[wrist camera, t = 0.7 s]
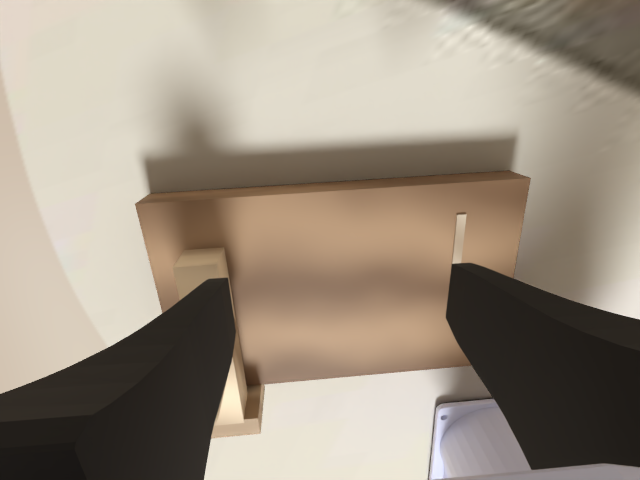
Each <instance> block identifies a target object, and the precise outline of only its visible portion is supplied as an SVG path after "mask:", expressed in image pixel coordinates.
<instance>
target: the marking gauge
mask: <svg viewBox="0 0 640 480" xmlns="http://www.w3.org/2000/svg"><path fill="white" fill-rule="evenodd" d="M173 272H174V276H175V281H176V285H177V290H178V294H179V298H180V300H181V299H182V298H184V297H185V296H186V295H188V294H189V293H190V292H191V291H193V290H194V289H195V288H196V287H198V286H199V285H200V284H202V283H203V282H204V281H206V280H207V279H212V278H228V280H229V274H228V268H227V262H226V256H225V250H224V247H222V248H208V249H194V250H184V252H183V253H182V255H181V256H180V258H179V259H178V260H177V262H176V263H175V265H174V266H173ZM229 287H230V281H229ZM230 294H231V301H232V308H233V315H234V322H235V329H236V335H235V343H234V351H233V357H232V362H231V366H230V370H229V373H228V377H227V380H226V384H225V388H224V391H223V395H222V398H221V402H220V405H219V409H218V412H217V416H216V419H215V423H214V427H213V431H212V436H211V438H220V437H230V436H240V435H250V434H260V432H261V422H262V411H263V400H264V390H265V387H264V384H262V385H251V386H247V385H246V379H245V373H244V367H243V361H242V354H241V348H240V342H239V336H238V326H237V323H236V318H235V311H234V305H233V299H232V293H231V287H230Z"/></svg>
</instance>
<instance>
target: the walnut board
mask: <svg viewBox="0 0 640 480" xmlns="http://www.w3.org/2000/svg"><path fill="white" fill-rule="evenodd" d="M530 179H531V178H529V177H526V176H523V175H520V174H517V173H514V172H512V171H495V172H480V173H464V174H449V175H433V176H417V177H402V178H386V179H370V180H355V181H339V182H324V183H308V184H292V185H277V186H261V187H246V188H230V189H214V190H199V191H183V192H168V193H152V194H149V195H147V196H146V197H144V198H143V199H142V200H140V201H139V202H137V203H136V204H135V206H136V210H137V214H138V218H139V222H140V226H141V229H142V233H143V237H144V241H145V245H146V249H147V253H148V257H149V261H150V265H151V269H152V273H153V277H154V281H155V285H156V289H157V293H158V297H159V301H160V305H161V309H162V313H164V312H165V311H167V310H168V309H169V308H171V307H172V306H173V305H175V304H176V303H177V302H179V301H180V298H179V294H178V290H177V285H176V281H175V276H174V272H173V266H174V265H175V263H176V262H177V260H178V259H179V258H180V256H181V255H182V253H183V252H184V250H194V249H208V248H222V247H224V250H225V256H226V262H227V268H228V274H229V281H230V287H231V293H232V299H233V305H234V311H235V318H236V323H237V326H238V336H239V342H240V348H241V354H242V361H243V367H244V373H245V379H246V385H247V386H251V385H262V384H273V383H284V382H295V381H306V380H317V379H328V378H339V377H350V376H361V375H372V374H383V373H394V372H405V371H416V370H427V369H438V368H449V367H460V366H471V364H470V362H469V360H468V359H467V357H466V356H465V354H464V353H463V351H462V350H461V348H460V346H459V345H458V343H457V341H456V339H455V337H454V335H453V333H452V331H451V329H450V326H449V324H448V322H447V320H446V309H447V300H448V291H449V283H450V274H451V266H452V264H456V263H474V264H477V265H480V266H483V267H486V268H488V269H491V270H494V271H496V272H499V273H501V274H503V275H506V276H508V277H511V278H513V276H514V270H515V265H516V259H517V253H518V248H519V242H520V236H521V230H522V225H523V219H524V213H525V208H526V202H527V196H528V190H529V185H530Z"/></svg>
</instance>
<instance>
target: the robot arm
mask: <svg viewBox="0 0 640 480" xmlns="http://www.w3.org/2000/svg"><path fill="white" fill-rule="evenodd" d="M446 320H447V322H448V324H449V326H450V329H451V331H452V333H453V335H454V337H455V339H456V341H457V343H458V345H459V346H460V348H461V350H462V351H463V353H464V354H465V356H466V357H467V359H468V360H469V362H470V364H471V365H472V367H473V368H474V370H475V371H476V373H477V374H478V376H479V377H480V379H481V380H482V382H483V383H484V385H485V386H486V388H487V389H488V391H489V392H490V394H491V395H492V397H493V398H494V399H486V400H475V401H465V402H454V403H444V404H440V405H438V406H437V408H436V415H435V425H434V435H433V445H432V455H431V465H430V475H429V480H640V320H639V319H635V318H630V317H626V316H622V315H618V314H614V313H611V312H607V311H604V310H600V309H597V308H593V307H590V306H587V305H583V304H580V303H577V302H574V301H571V300H568V299H565V298H562V297H560V296H557V295H554V294H551V293H549V292H546V291H543V290H541V289H538V288H535V287H533V286H530V285H528V284H525V283H523V282H520V281H518V280H516V279H513V278H511V277H508V276H506V275H503V274H501V273H499V272H496V271H494V270H491V269H488V268H486V267H483V266H480V265H477V264H474V263H456V264H452V266H451V274H450V283H449V291H448V300H447V309H446ZM235 335H236V329H235V322H234V315H233V308H232V301H231V294H230V287H229V280H228V278H212V279H207V280H206V281H204V282H203V283H202V284H200V285H199V286H198V287H196V288H195V289H194V290H193V291H191V292H190V293H189V294H188V295H186V296H185V297H184V298H182V299H181V300H180V301H179V302H177V303H176V304H175V305H173V306H172V307H171V308H169V309H168V310H167V311H165V312H164V313H162V314H161V315H160V316H158V317H157V318H155V319H154V320H152V321H151V322H150V323H148V324H147V325H145V326H144V327H142V328H141V329H139V330H138V331H136V332H134V333H133V334H131V335H130V336H128V337H126V338H124V339H123V340H121V341H119V342H117V343H116V344H114V345H112V346H110V347H108V348H107V349H105V350H103V351H100V352H98V353H96V354H94V355H92V356H90V357H88V358H86V359H84V360H82V361H80V362H78V363H76V364H74V365H72V366H70V367H67V368H65V369H63V370H61V371H58V372H56V373H54V374H51V375H49V376H47V377H44V378H42V379H39V380H37V381H34V382H32V383H29V384H26V385H24V386H21V387H18V388H16V389H13V390H10V391H8V392H5V393H2V394H0V480H204V475H205V469H206V463H207V457H208V452H209V446H210V440H211V436H212V431H213V427H214V423H215V419H216V416H217V412H218V409H219V405H220V402H221V398H222V395H223V391H224V388H225V384H226V380H227V377H228V373H229V370H230V366H231V362H232V357H233V351H234V343H235ZM442 415H443V416H442Z"/></svg>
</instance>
